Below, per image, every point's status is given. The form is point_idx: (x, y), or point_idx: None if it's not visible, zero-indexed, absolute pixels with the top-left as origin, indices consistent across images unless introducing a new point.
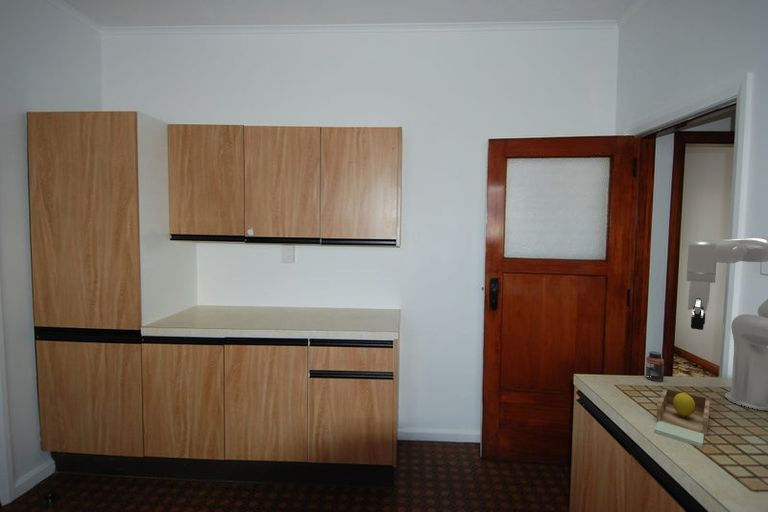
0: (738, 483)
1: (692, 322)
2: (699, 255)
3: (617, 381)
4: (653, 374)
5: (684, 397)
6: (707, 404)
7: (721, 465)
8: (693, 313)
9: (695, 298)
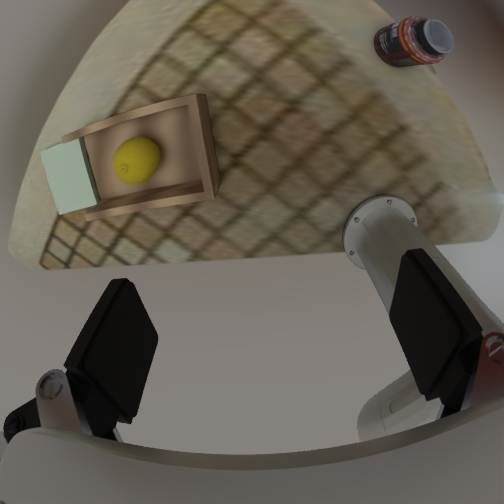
0: (39, 253)
1: (95, 324)
2: None
3: None
4: (382, 41)
5: (114, 170)
6: (159, 203)
7: (52, 235)
8: (42, 411)
9: None
